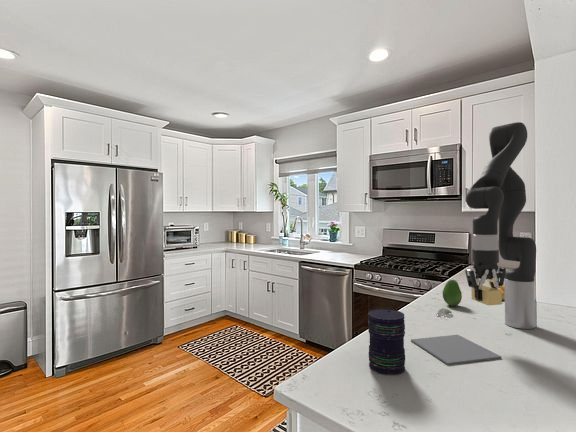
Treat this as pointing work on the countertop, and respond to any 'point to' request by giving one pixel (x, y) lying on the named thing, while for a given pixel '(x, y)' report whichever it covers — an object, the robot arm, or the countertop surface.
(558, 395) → the countertop surface
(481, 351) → the mat
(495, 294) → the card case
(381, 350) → the storage jar
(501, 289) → the croissant
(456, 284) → the avocado
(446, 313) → the grey-green jagged piece
